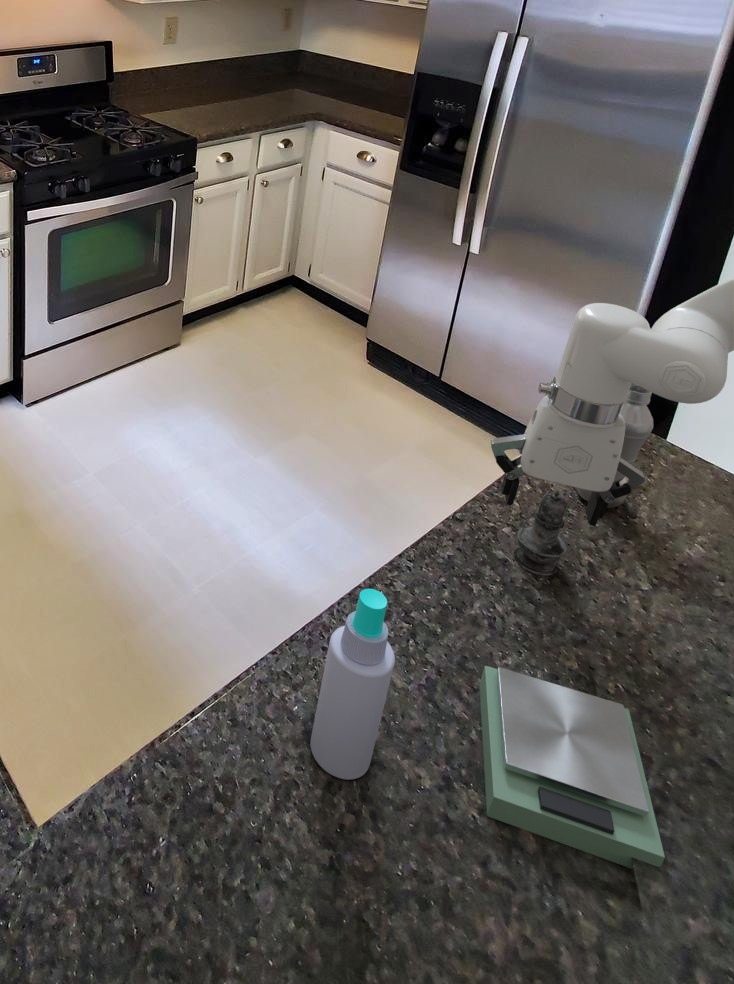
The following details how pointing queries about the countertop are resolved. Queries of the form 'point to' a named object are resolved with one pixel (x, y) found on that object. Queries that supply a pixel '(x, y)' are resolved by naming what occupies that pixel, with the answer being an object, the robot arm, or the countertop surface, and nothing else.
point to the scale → (562, 800)
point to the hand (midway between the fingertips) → (548, 508)
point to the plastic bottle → (631, 432)
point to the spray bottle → (353, 690)
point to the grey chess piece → (543, 537)
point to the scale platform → (569, 740)
